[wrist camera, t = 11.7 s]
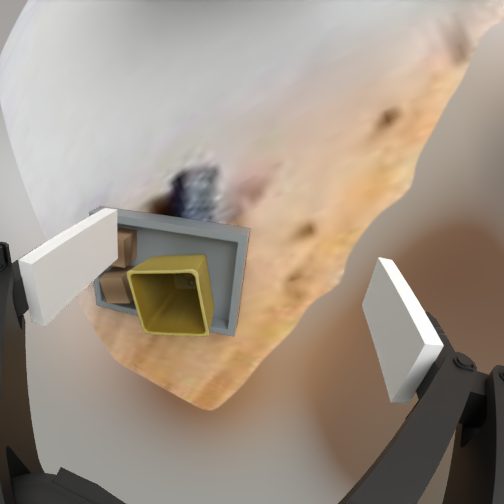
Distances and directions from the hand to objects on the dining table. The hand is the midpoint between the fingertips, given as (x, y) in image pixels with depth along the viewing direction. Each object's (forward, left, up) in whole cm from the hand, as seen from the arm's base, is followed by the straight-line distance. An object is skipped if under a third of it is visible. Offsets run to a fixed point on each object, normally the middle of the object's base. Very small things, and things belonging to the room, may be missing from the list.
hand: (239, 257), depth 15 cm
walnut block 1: (+11, -19, -24) cm, 33 cm away
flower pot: (+14, -9, -25) cm, 30 cm away
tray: (+14, -13, -25) cm, 31 cm away
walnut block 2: (+17, -19, -24) cm, 35 cm away
